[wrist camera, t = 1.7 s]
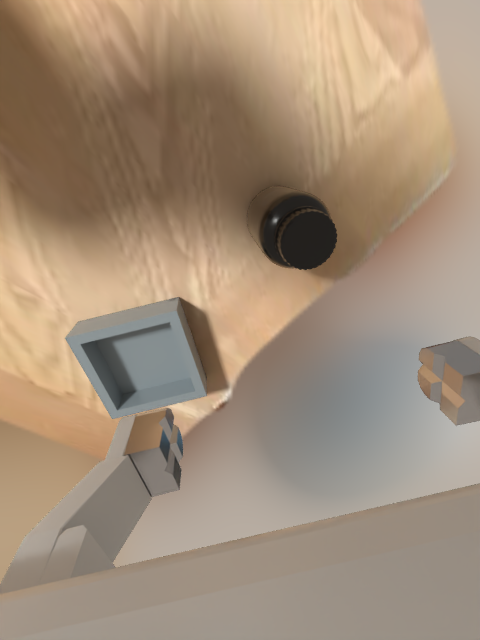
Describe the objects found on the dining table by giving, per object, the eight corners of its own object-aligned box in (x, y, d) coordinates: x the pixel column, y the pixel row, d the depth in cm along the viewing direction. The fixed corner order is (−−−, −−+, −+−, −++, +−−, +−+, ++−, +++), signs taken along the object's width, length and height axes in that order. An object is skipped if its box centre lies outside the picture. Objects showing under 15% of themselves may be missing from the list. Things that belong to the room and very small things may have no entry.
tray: (78, 321, 38) (65, 338, 34) (178, 297, 38) (176, 310, 34) (119, 398, 44) (112, 419, 40) (206, 377, 44) (206, 395, 40)
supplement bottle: (243, 246, 36) (261, 280, 25) (248, 183, 33) (270, 191, 22) (300, 248, 36) (339, 282, 26) (309, 187, 33) (358, 197, 23)
